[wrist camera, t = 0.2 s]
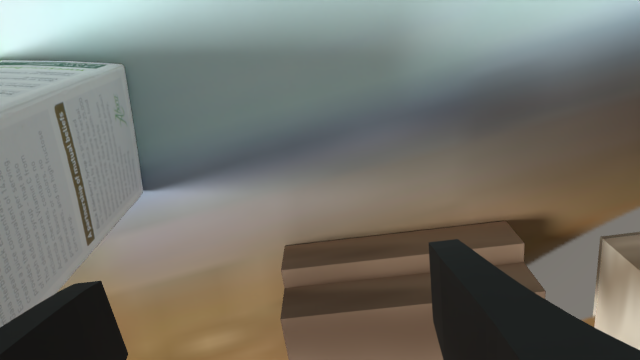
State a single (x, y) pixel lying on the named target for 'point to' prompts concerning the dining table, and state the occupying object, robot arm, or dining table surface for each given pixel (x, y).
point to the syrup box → (60, 172)
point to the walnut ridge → (379, 292)
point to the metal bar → (619, 288)
